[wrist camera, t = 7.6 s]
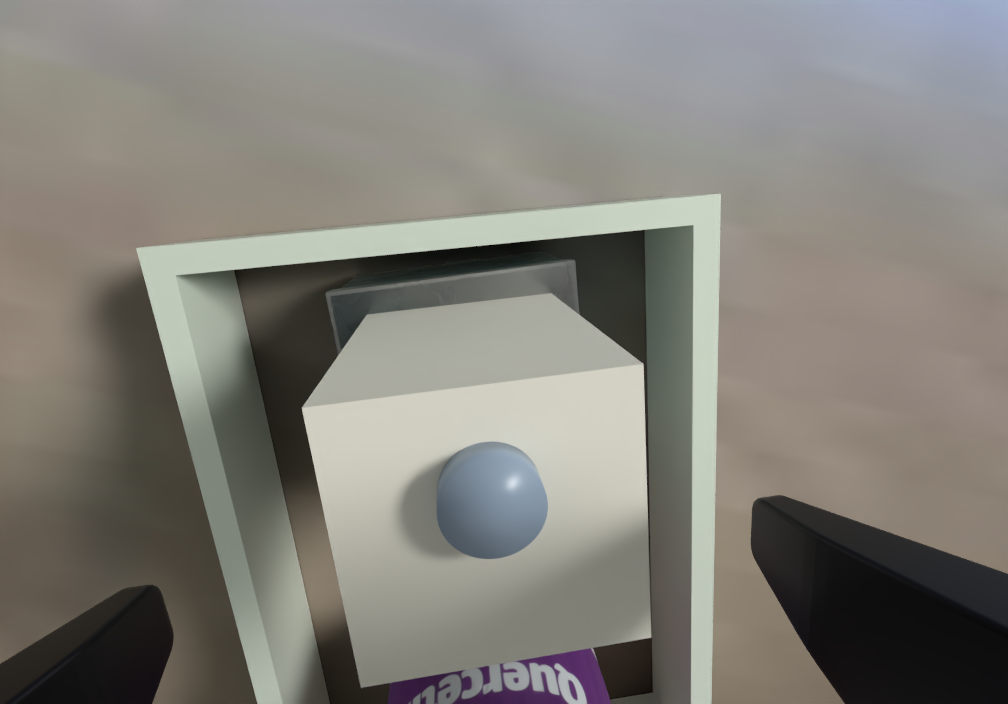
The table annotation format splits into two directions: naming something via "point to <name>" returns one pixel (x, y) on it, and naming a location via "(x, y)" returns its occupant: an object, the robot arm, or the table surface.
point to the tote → (211, 262)
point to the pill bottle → (512, 683)
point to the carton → (483, 486)
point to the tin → (449, 287)
